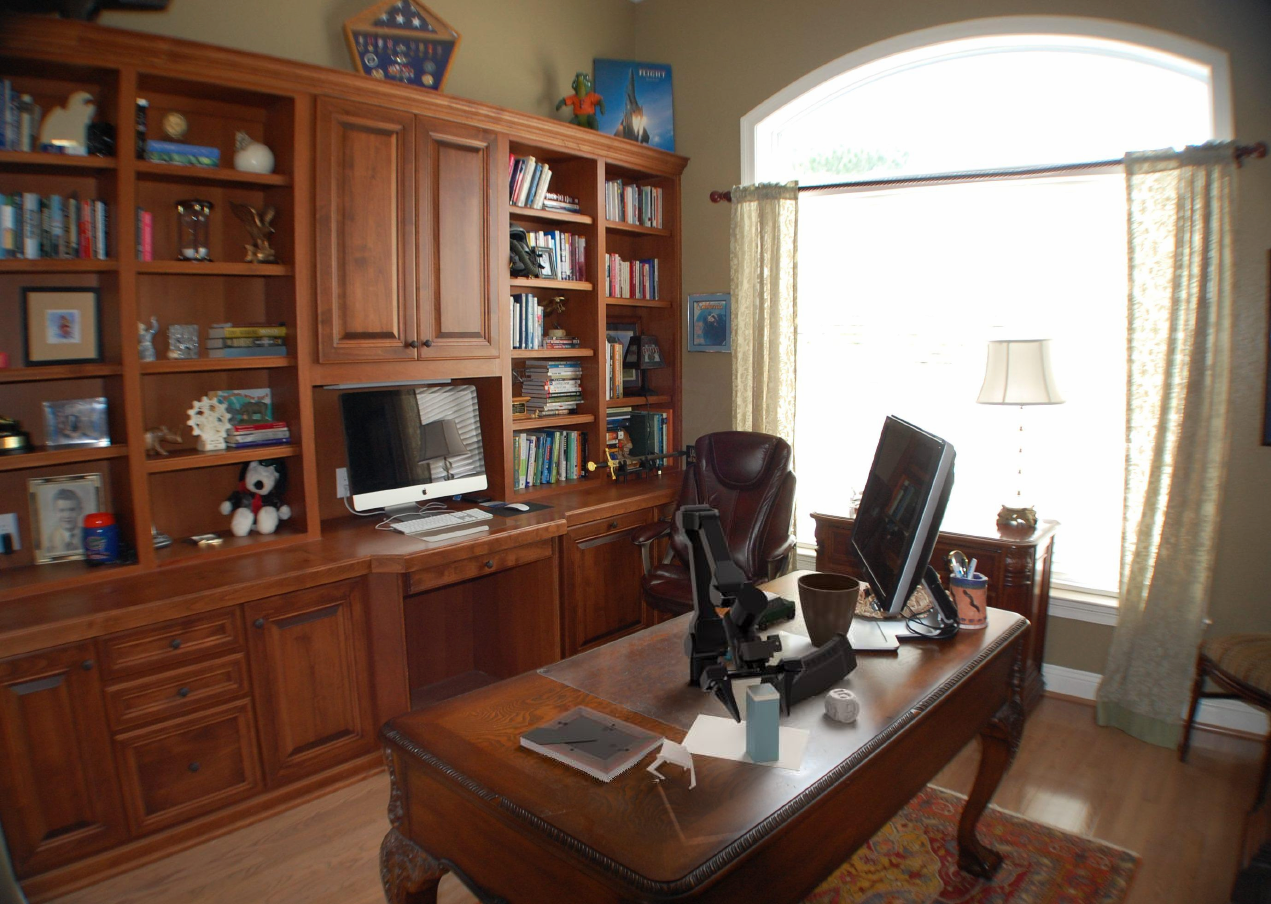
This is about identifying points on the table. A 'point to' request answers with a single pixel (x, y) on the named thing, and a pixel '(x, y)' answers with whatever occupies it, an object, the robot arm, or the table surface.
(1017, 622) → the table surface
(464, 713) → the table surface
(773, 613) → the miniature car
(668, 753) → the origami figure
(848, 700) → the die
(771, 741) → the teal block
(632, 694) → the table surface
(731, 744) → the cream rectangular board
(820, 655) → the magazine
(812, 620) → the plant pot
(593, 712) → the picture frame
